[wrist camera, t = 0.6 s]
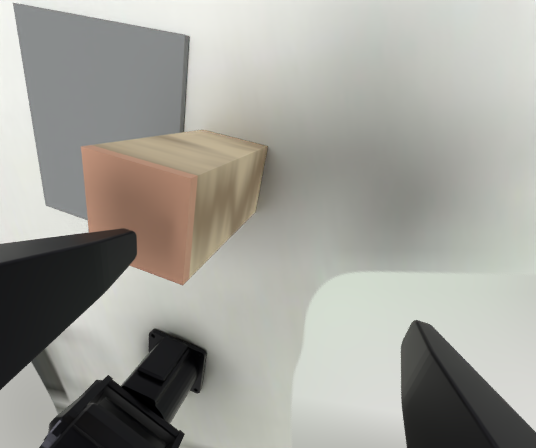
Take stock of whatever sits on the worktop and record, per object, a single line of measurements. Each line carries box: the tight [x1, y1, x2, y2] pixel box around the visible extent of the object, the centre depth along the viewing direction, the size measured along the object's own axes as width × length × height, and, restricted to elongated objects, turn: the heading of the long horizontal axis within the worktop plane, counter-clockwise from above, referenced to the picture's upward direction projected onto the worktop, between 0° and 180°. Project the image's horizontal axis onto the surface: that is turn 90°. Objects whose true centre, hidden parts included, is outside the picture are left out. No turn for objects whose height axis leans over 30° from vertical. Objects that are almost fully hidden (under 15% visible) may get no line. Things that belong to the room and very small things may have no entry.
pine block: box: [81, 130, 268, 285], centre depth 16 cm, size 5×5×10 cm
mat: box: [13, 3, 189, 220], centre depth 23 cm, size 16×14×1 cm
